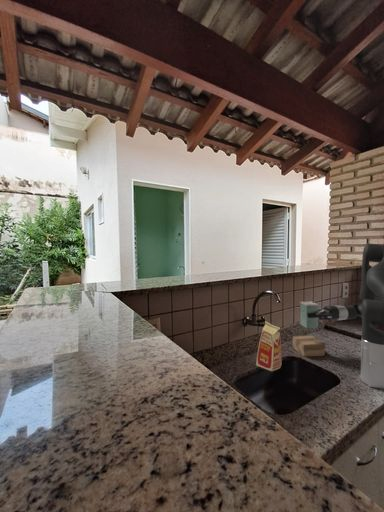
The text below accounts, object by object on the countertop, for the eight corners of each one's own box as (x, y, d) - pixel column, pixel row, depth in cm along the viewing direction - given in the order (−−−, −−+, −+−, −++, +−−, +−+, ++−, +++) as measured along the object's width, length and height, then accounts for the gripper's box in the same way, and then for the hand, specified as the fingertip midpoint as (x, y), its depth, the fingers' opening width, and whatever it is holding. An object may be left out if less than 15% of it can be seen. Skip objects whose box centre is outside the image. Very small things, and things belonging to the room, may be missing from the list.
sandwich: (324, 355, 119) (324, 343, 118) (303, 356, 118) (303, 344, 117) (311, 346, 130) (312, 335, 129) (292, 347, 129) (292, 336, 128)
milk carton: (256, 365, 110) (256, 322, 109) (266, 358, 116) (266, 318, 115) (274, 372, 103) (274, 327, 102) (284, 365, 109) (284, 322, 108)
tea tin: (318, 327, 120) (318, 304, 120) (306, 328, 120) (306, 304, 119) (311, 323, 126) (311, 301, 126) (300, 324, 126) (300, 301, 126)
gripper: (326, 302, 131) (297, 303, 130) (345, 309, 117) (312, 310, 115) (326, 315, 131) (297, 316, 130) (345, 324, 117) (312, 325, 116)
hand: (304, 313), depth 123 cm, fingers closed on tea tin, 6 cm apart
